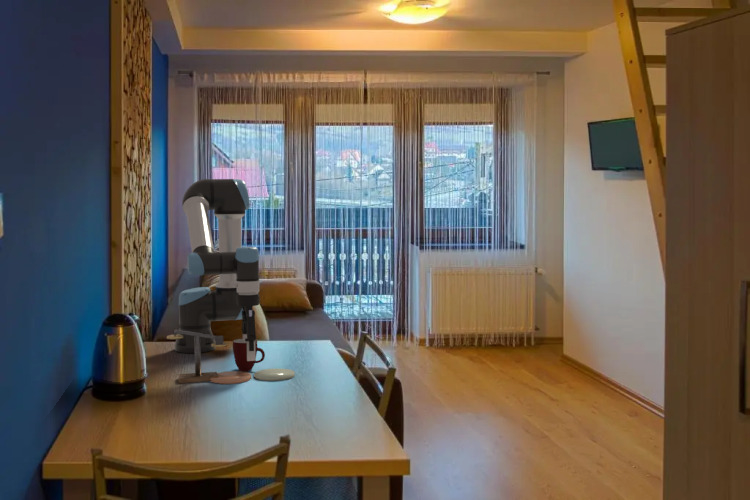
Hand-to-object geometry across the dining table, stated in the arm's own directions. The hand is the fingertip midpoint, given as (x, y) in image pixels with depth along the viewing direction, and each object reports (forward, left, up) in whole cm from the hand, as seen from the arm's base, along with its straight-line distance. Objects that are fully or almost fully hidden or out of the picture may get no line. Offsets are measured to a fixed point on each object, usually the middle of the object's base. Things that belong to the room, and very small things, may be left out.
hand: (249, 357), depth 252 cm
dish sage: (+11, +7, -5) cm, 13 cm away
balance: (+9, -17, -5) cm, 20 cm away
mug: (0, 0, -5) cm, 5 cm away
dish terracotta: (+11, -7, -5) cm, 13 cm away
